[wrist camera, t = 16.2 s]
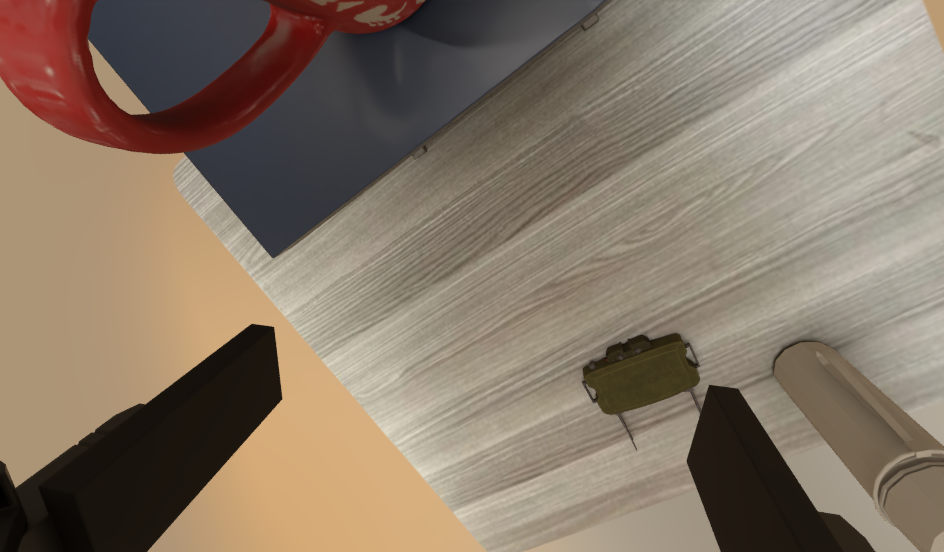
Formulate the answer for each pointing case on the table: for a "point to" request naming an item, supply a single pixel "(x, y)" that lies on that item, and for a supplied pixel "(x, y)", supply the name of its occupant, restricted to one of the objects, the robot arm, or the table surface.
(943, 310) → the table surface
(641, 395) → the landmine
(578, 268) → the table surface
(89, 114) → the mug
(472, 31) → the x-leg side table
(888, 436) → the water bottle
